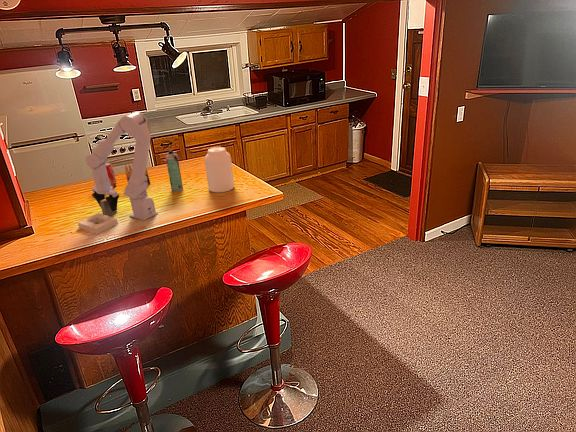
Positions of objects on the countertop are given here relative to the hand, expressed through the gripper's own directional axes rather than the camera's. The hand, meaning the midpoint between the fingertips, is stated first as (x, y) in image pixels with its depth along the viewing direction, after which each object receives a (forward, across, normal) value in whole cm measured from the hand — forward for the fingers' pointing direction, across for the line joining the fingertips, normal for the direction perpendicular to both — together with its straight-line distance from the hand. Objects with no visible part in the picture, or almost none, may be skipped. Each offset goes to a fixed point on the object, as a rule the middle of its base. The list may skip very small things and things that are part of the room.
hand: (108, 208), depth 186 cm
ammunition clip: (+3, +16, -30) cm, 34 cm away
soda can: (+3, +29, -22) cm, 36 cm away
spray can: (+3, -7, -34) cm, 35 cm away
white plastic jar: (+3, -26, -45) cm, 52 cm away
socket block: (+2, -6, +10) cm, 12 cm away
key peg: (+2, 0, 0) cm, 2 cm away
